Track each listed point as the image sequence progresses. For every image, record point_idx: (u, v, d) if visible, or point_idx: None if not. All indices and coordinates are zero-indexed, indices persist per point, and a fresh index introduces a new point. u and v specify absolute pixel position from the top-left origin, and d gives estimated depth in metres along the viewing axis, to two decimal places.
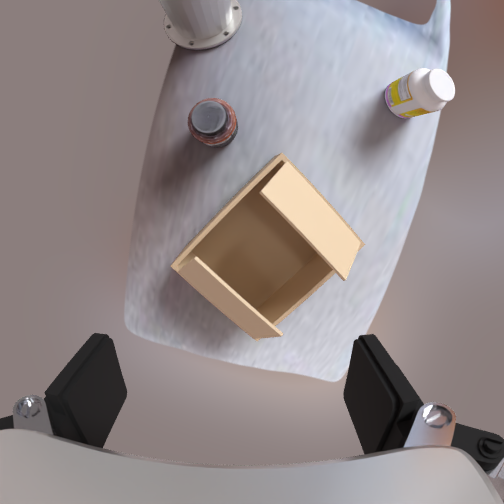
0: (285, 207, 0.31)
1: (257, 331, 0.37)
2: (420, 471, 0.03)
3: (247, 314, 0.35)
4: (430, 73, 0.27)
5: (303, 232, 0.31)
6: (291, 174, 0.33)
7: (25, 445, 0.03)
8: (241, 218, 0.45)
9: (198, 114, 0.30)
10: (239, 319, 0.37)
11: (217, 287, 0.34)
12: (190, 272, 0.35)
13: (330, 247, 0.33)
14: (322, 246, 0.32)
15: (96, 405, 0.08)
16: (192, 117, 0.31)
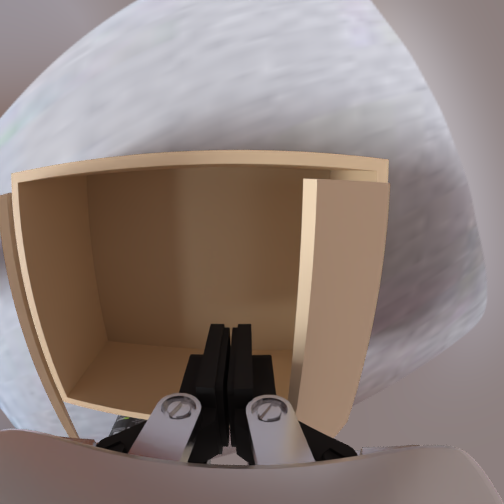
0: None
1: (367, 219, 0.10)
2: (420, 471, 0.03)
3: (332, 324, 0.09)
4: None
5: (40, 378, 0.09)
6: None
7: (26, 445, 0.03)
8: (207, 323, 0.24)
9: None
10: (365, 285, 0.11)
11: (312, 425, 0.10)
12: None
13: None
14: None
15: None
16: None
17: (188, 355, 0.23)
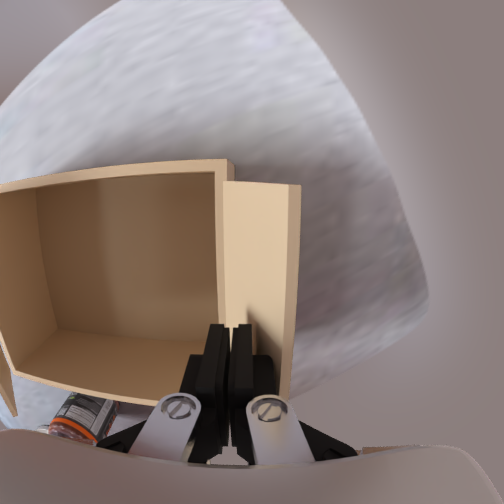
0: None
1: None
2: (420, 471, 0.03)
3: None
4: None
5: None
6: None
7: (25, 445, 0.03)
8: (131, 314, 0.25)
9: None
10: None
11: None
12: None
13: None
14: None
15: (227, 394, 0.09)
16: None
17: (116, 342, 0.25)
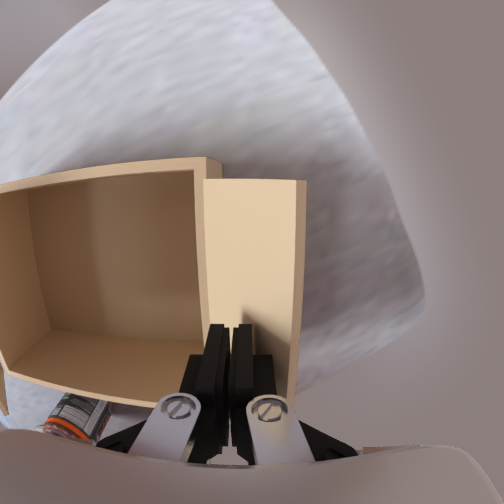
0: None
1: None
2: (420, 471, 0.03)
3: None
4: None
5: None
6: None
7: (25, 444, 0.03)
8: (122, 314, 0.25)
9: None
10: None
11: None
12: None
13: None
14: None
15: (227, 394, 0.09)
16: None
17: (108, 342, 0.25)
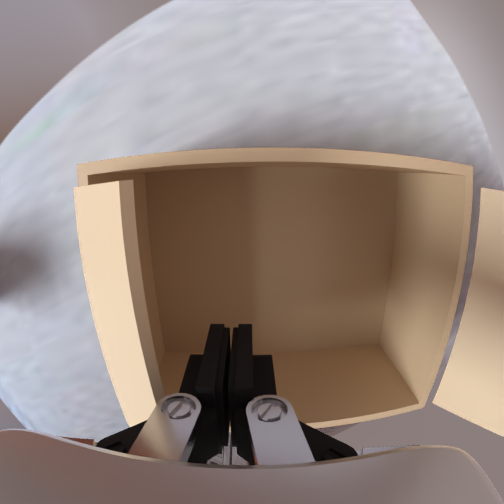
0: None
1: None
2: (420, 471, 0.03)
3: None
4: None
5: None
6: (129, 419, 0.14)
7: (25, 445, 0.03)
8: (278, 326, 0.23)
9: None
10: None
11: None
12: None
13: (115, 301, 0.09)
14: (130, 338, 0.08)
15: (227, 394, 0.09)
16: None
17: None
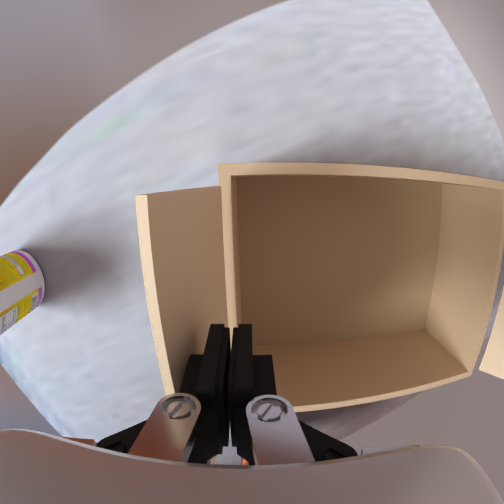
0: None
1: None
2: (420, 471, 0.03)
3: None
4: None
5: None
6: None
7: (26, 445, 0.03)
8: (348, 316, 0.26)
9: None
10: None
11: None
12: None
13: None
14: None
15: (227, 394, 0.09)
16: None
17: (332, 347, 0.25)
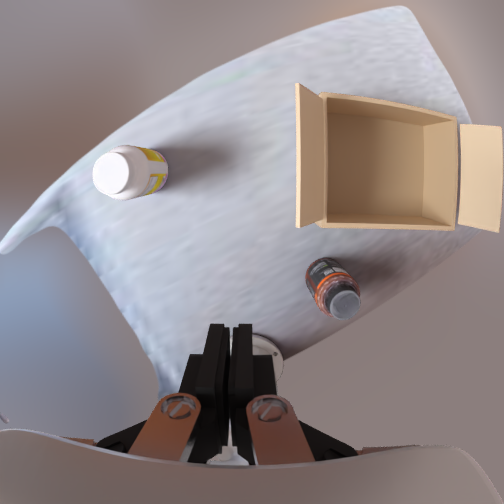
0: None
1: None
2: (420, 471, 0.03)
3: None
4: (115, 192, 0.29)
5: None
6: None
7: (25, 444, 0.03)
8: (373, 197, 0.41)
9: (348, 313, 0.34)
10: None
11: None
12: None
13: None
14: None
15: (227, 394, 0.09)
16: (354, 314, 0.34)
17: (366, 215, 0.41)
